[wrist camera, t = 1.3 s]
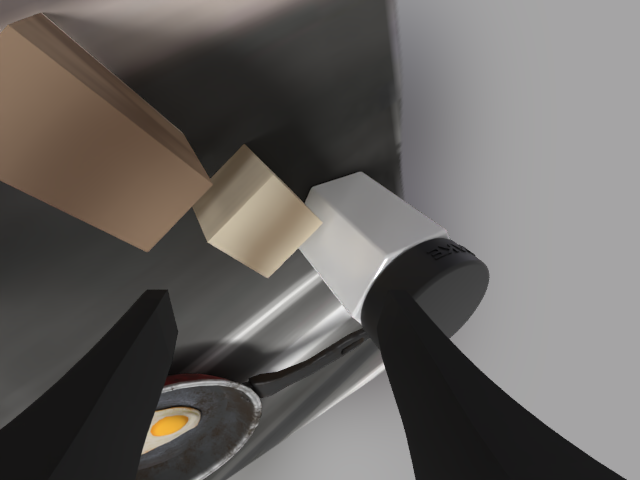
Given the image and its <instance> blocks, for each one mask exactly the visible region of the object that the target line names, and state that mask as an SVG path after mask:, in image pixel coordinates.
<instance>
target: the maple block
mask: <svg viewBox="0 0 640 480" xmlns="http://www.w3.org/2000/svg"><path fill="white" fill-rule="evenodd" d="M210 180H211V182H212V183H213V185H212V186H211V187H210V188H209V189H208V190H207V191H206V192H205V193H204V195H203V196H202V197H201V198H200V199H199V200H198V201H197V202H196V203H195V204H194V205H193V206H192V207H193V210H194V212H195V214H196V217H197V219H198V221H199V224H200V226H201V228H202V231H203V233H204V235H205V238H206V240H207V242H208V243H210V244H211V245H213V246H215V247H216V248H218V249H220V250H221V251H223V252H225V253H226V254H228V255H230V256H231V257H233V258H235V259H236V260H238V261H240V262H241V263H243V264H245V265H246V266H248V267H250V268H251V269H253V270H255V271H256V272H258V273H260V274H261V275H263V276H265V277H266V278H269V277H270V276H271V275H272V274H273V273H274V272H275V271H276V270H277V269H278V268H279V267H280V266H281V265H282V264H283V263H284V262H285V261H286V260H287V259H288V258H289V257H290V256H291V255H292V254H293V253H294V252H295V251H296V250H297V249H298V248H299V247H300V246H301V245H302V244H303V243H304V242H305V241H306V240H307V239H308V238H309V237H310V236H311V235H312V234H313V233H314V232H315V231H316V230H317V229H318V228H319V227H320V226H321V225H322V224H323V222H322V221H321V220H320V219H319V218H318V217H317V216H316V215H315V214H314V213H313V212H312V211H311V210H310V209H309V208H308V207H307V206H306V205H305V204H304V203H303V202H302V201H301V199H300V198H299V197H298V196H297V195H296V194H295V193H294V192H293V191H292V190H291V189H290V188H289V187H288V186H287V185H286V184H285V183H284V182H283V181H282V180H281V179H280V178H279V177H278V176H277V175H276V174H275V173H274V172H273V171H272V170H271V169H270V168H269V167H267V166H266V165H265V164H264V163H263V162H262V161H261V160H260V159H259V158H258V157H257V156H256V155H255V154H254V153H253V152H252V151H251V150H250V149H249V148H248V147H247V146H246V145H245V144H243V145H242V146H241V147H240V148H239V150H238V151H237V152H236V153H235V154H234V155H233V156H232V157H231V158H230V159H229V160H228V161H227V162H226V163H225V164H224V165H223V166H222V167H221V168H220V169H219V170H218V171H217V172H216V173H215V174H214V176H213V177H212V178H211V179H210Z"/></svg>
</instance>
